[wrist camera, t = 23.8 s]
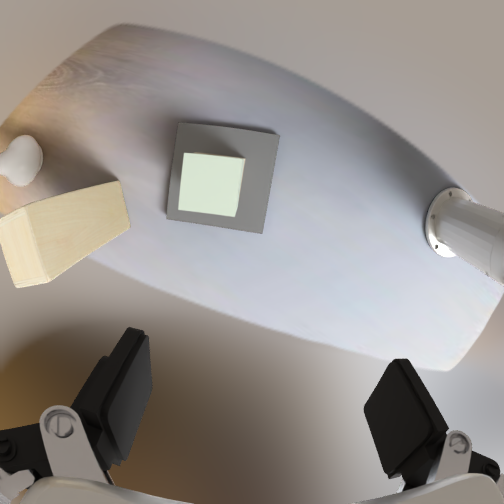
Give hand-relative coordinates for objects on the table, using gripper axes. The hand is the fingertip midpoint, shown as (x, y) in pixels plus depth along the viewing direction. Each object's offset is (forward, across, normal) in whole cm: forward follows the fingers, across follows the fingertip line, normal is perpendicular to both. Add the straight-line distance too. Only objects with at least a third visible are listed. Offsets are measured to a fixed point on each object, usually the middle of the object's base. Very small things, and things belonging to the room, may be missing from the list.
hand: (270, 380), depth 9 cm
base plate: (+32, +6, -4) cm, 33 cm away
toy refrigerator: (+32, +24, +3) cm, 41 cm away
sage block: (+26, +6, -4) cm, 27 cm away
